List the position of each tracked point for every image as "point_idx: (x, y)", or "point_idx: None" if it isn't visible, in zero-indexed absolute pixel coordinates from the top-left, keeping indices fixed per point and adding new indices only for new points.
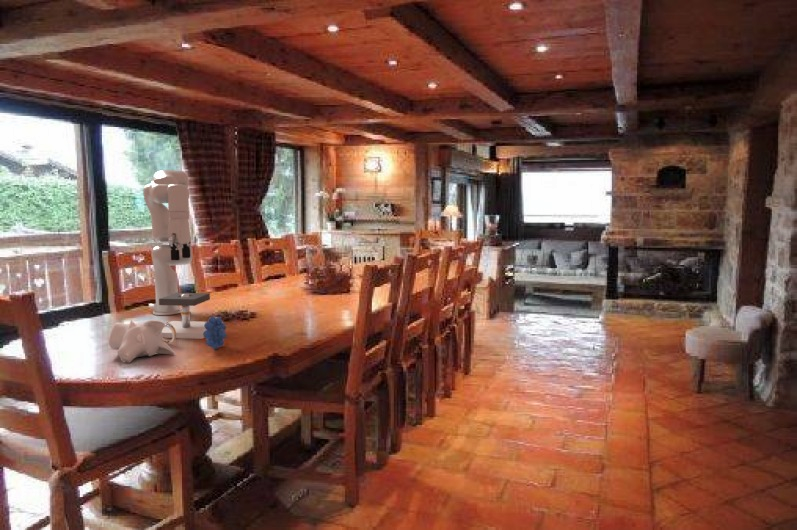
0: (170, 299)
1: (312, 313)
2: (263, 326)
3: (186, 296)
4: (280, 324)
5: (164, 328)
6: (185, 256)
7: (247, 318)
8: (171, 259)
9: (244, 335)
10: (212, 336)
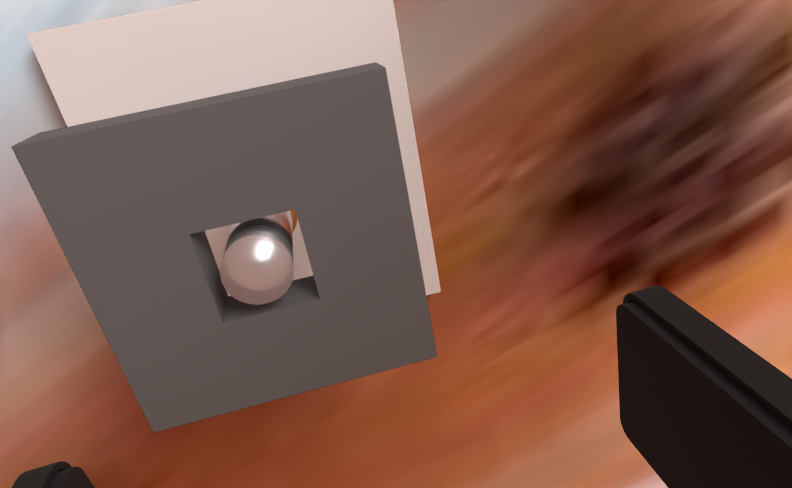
0: (69, 255)
1: None
2: (481, 427)
3: (241, 295)
4: (530, 461)
5: (175, 78)
6: (634, 375)
7: (631, 274)
8: (22, 484)
9: (307, 456)
10: None
